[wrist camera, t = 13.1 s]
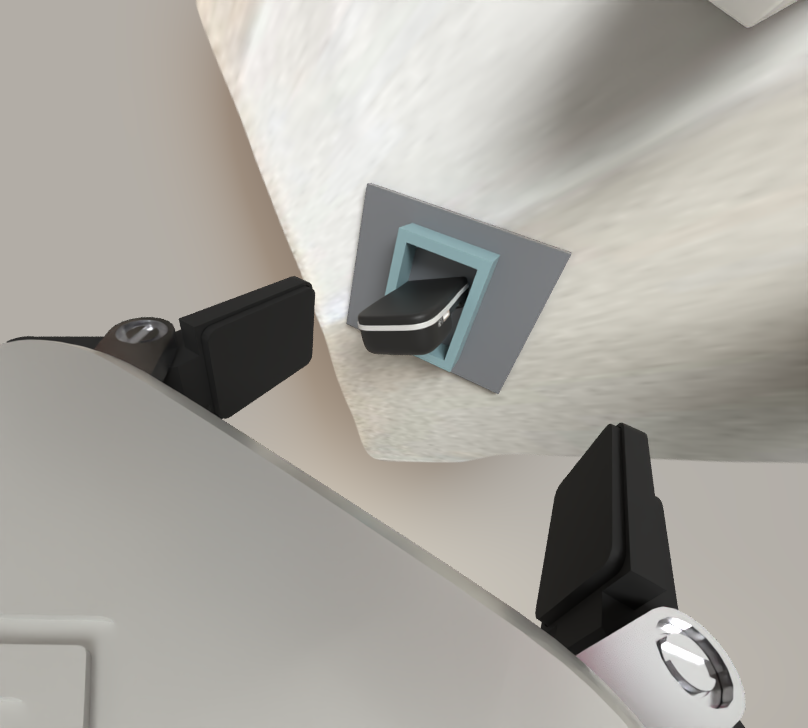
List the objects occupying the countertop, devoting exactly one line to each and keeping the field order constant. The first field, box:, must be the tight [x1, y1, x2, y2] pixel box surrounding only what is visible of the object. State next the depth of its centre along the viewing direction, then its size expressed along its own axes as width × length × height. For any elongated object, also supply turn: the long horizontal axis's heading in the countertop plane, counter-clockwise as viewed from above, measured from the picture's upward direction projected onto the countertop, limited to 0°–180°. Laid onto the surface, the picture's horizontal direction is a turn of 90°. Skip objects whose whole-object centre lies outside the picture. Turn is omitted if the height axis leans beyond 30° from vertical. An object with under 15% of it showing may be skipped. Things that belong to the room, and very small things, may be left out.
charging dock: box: [347, 183, 571, 394], centre depth 35 cm, size 20×16×4 cm
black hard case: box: [358, 277, 469, 355], centre depth 31 cm, size 7×4×11 cm, turn 99°
